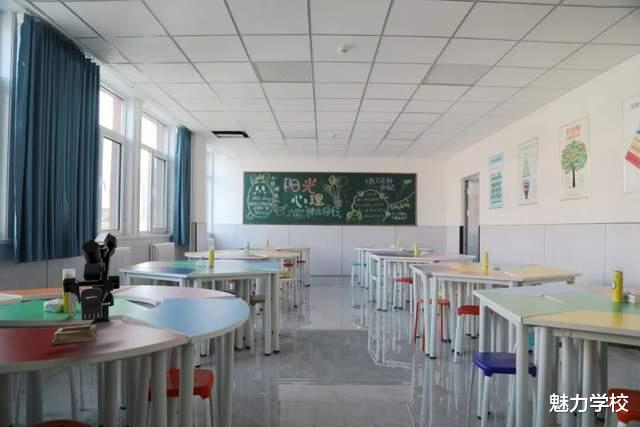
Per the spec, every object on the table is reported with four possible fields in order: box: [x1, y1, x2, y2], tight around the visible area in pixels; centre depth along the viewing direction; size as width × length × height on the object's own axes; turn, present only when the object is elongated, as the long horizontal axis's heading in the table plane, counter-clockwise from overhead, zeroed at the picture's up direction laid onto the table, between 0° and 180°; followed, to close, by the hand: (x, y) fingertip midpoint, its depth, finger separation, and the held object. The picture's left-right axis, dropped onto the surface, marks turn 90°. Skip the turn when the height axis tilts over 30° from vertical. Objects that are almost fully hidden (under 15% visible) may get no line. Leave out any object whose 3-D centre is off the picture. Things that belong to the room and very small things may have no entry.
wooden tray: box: [51, 324, 99, 346], centre depth 147 cm, size 10×13×4 cm
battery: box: [80, 287, 102, 321], centre depth 149 cm, size 7×4×11 cm, turn 118°
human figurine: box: [57, 276, 84, 316], centre depth 187 cm, size 12×4×18 cm, turn 126°
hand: (90, 302), depth 147 cm, fingers closed on battery, 7 cm apart
